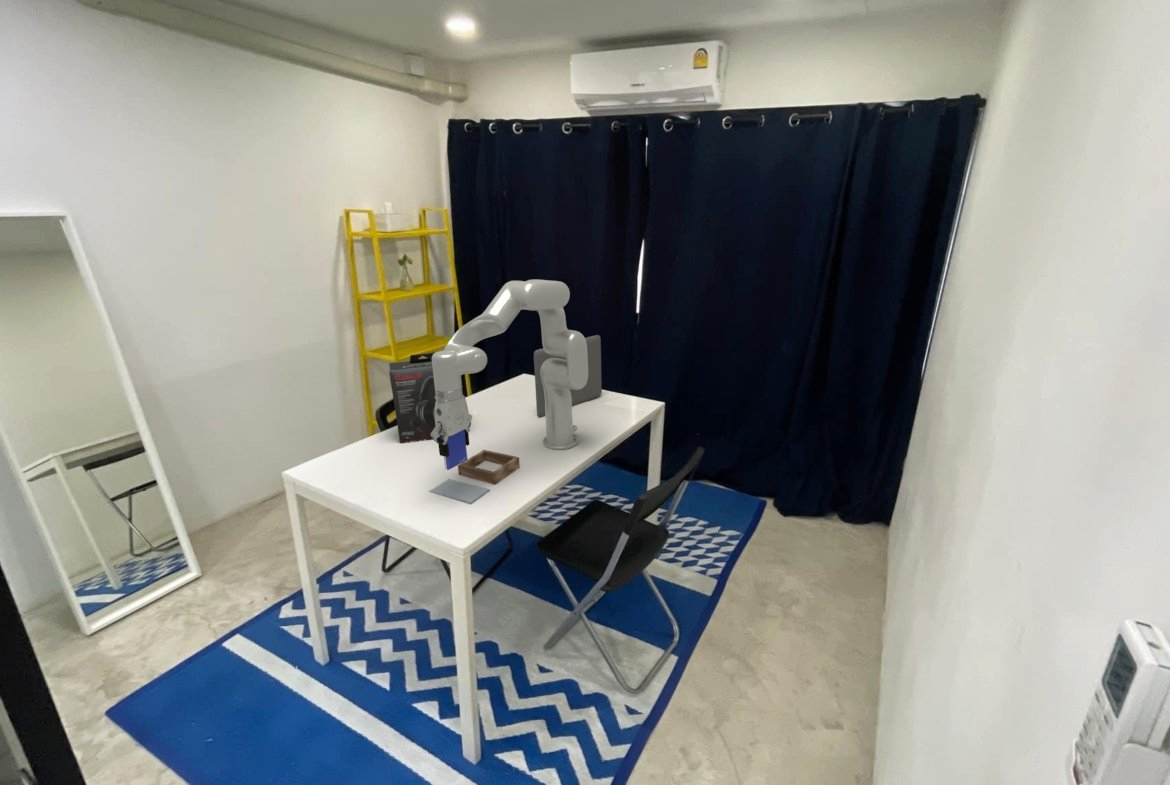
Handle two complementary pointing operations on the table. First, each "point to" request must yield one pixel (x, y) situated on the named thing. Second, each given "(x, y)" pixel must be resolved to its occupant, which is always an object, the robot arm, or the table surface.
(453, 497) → the mat
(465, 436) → the robot arm
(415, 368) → the headset box
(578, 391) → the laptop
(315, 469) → the table surface
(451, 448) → the hard drive
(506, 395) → the table surface
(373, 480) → the table surface
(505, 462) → the wooden square frame
